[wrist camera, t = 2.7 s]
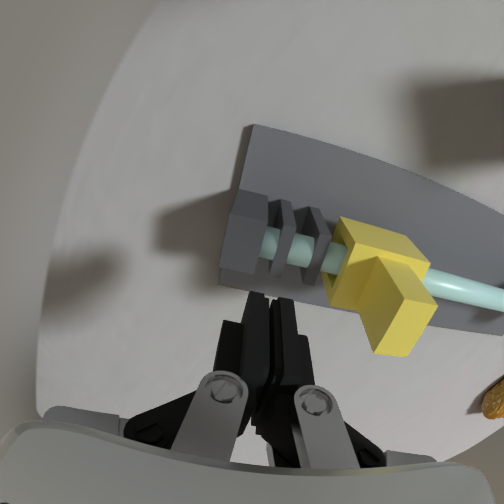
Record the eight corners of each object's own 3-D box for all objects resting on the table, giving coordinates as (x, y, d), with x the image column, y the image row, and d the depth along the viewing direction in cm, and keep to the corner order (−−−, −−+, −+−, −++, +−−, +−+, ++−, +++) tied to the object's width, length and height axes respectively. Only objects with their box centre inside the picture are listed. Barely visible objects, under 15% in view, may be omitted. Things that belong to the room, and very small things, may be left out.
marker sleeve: (339, 216, 19) (379, 284, 12) (405, 235, 19) (463, 303, 12) (319, 270, 20) (341, 355, 13) (383, 285, 21) (424, 364, 14)
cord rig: (254, 123, 19) (248, 128, 14) (548, 241, 21) (579, 266, 16) (219, 280, 24) (207, 325, 19) (499, 332, 26) (522, 364, 21)
